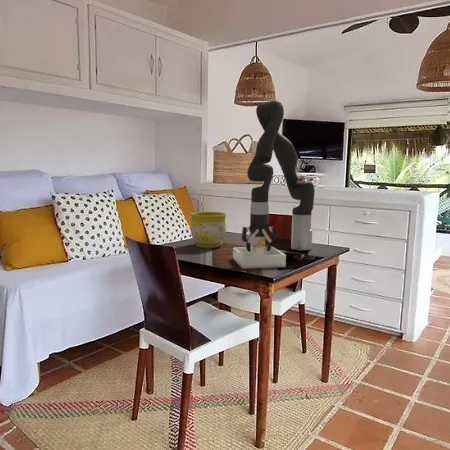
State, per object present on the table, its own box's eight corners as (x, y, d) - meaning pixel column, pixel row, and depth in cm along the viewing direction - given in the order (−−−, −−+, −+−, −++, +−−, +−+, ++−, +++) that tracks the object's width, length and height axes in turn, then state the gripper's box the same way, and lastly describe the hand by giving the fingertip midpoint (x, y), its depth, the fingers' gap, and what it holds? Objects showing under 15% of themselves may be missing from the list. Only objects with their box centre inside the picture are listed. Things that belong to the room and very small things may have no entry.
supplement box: (257, 254, 196) (258, 226, 194) (248, 253, 199) (248, 225, 197) (265, 251, 203) (266, 224, 201) (256, 250, 206) (257, 223, 204)
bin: (272, 257, 191) (272, 246, 190) (285, 267, 173) (285, 255, 173) (232, 258, 187) (233, 247, 187) (242, 268, 170) (242, 256, 169)
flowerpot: (229, 248, 210) (230, 215, 207) (193, 249, 206) (193, 216, 203) (221, 241, 227) (221, 211, 225) (187, 243, 223) (187, 211, 220)
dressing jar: (262, 258, 183) (262, 242, 182) (265, 261, 178) (266, 245, 177) (251, 259, 182) (251, 243, 181) (254, 261, 177) (254, 245, 176)
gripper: (273, 211, 182) (272, 249, 185) (240, 211, 180) (239, 249, 182) (278, 213, 175) (277, 252, 177) (244, 213, 172) (244, 253, 175)
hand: (258, 251), depth 180 cm, fingers open, 8 cm apart
